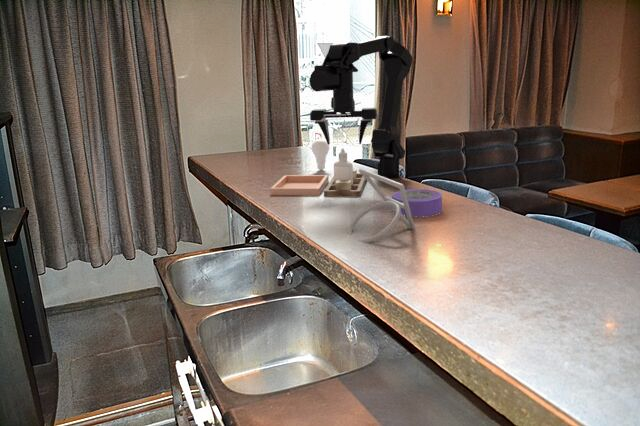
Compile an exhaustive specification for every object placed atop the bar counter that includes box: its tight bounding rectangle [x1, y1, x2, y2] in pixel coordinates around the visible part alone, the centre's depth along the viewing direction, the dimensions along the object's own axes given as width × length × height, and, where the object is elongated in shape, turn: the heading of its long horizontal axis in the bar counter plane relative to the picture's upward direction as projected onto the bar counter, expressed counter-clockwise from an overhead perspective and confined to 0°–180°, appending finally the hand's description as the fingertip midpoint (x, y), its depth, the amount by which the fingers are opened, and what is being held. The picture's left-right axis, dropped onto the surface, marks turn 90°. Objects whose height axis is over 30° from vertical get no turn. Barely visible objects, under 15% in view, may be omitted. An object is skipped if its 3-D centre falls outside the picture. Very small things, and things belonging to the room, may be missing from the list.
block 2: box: [353, 168, 358, 178], centre depth 163 cm, size 4×4×4 cm
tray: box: [269, 174, 330, 196], centre depth 156 cm, size 14×18×2 cm
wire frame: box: [346, 168, 415, 244], centre depth 109 cm, size 18×13×16 cm
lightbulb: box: [311, 138, 330, 171], centre depth 182 cm, size 6×6×11 cm
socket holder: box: [323, 172, 367, 197], centre depth 156 cm, size 10×24×2 cm, turn 171°
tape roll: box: [391, 188, 443, 218], centre depth 127 cm, size 12×12×5 cm
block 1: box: [335, 180, 351, 190], centre depth 148 cm, size 4×4×4 cm
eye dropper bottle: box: [333, 147, 354, 185], centre depth 154 cm, size 4×6×12 cm
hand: (344, 144), depth 153 cm, fingers open, 9 cm apart
